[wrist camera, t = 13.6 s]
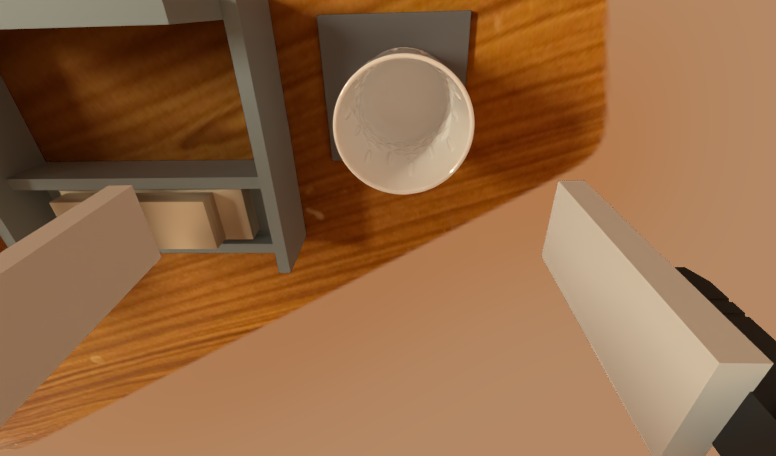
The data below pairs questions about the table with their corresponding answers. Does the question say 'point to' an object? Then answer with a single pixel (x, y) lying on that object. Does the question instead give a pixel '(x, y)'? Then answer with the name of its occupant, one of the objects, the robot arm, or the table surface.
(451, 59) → the mat
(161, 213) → the upper offcut
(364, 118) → the white cup
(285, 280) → the table surface
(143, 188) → the rack
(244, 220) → the block
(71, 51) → the table surface
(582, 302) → the robot arm
